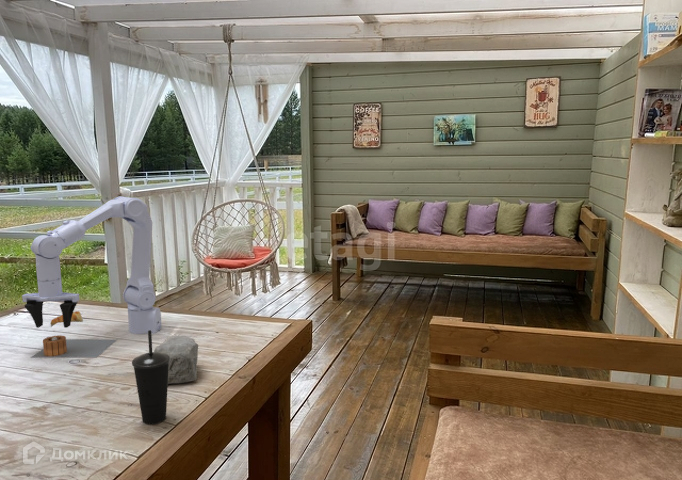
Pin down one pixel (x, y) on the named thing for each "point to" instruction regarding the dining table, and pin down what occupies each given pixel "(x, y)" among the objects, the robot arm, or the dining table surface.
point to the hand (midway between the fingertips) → (53, 326)
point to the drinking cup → (152, 384)
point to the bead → (54, 346)
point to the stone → (180, 358)
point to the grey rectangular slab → (81, 348)
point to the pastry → (75, 318)
